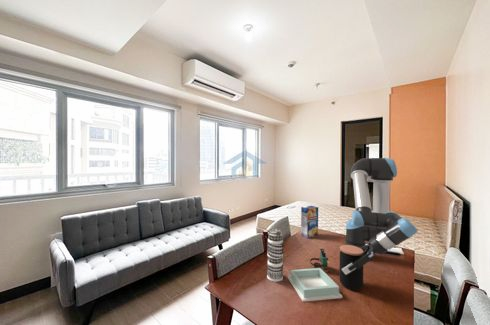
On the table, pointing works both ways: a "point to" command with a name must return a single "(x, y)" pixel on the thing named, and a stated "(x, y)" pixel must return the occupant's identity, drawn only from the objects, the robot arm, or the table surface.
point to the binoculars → (322, 260)
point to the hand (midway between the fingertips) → (344, 267)
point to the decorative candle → (275, 255)
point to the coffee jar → (356, 276)
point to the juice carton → (309, 221)
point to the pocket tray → (313, 284)
